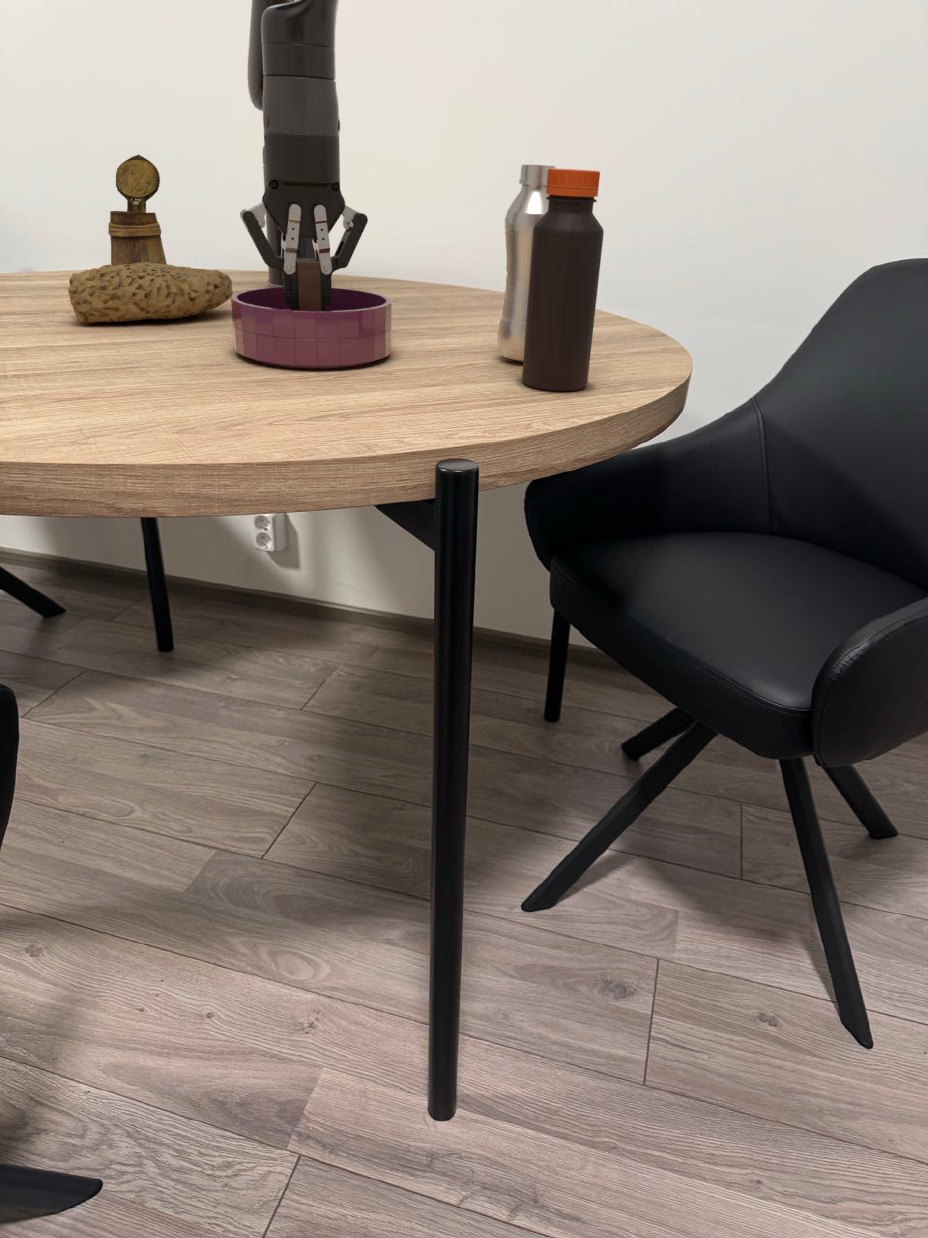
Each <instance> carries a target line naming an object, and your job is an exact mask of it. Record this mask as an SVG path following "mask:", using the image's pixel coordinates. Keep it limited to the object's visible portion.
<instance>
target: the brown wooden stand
mask: <svg viewBox="0 0 928 1238" xmlns="http://www.w3.org/2000/svg"><path fill="white" fill-rule="evenodd" d="M160 184H161V176H160V172H159V170H158V168H157V166H156V165H155V164H154V163H153V162H151V161H150V160H149V159H147V158H146V157H144V156H142V155H141V154H136V155H134V156H131V157H129V158H127V159H126V160H124V161H123V162H121V163H120V165H118V167H116V172H115V187H116V189H117V192H118V193H119V194H120V195H121V196H122V197H124V198H125V200H126V201H127V202H126V204H127V205H126V206H127V207H126V211H125V210H124V211H122V210H111V211H110V212H109V222H108V227H107V228H108V230H107V231H108V232H107V234H108V235H109V236H110V237H109V238H110V265H113V266H118V265H125V264H126V265H129V264H133V263H143V262H151V263H157V264H168V263H167V259H166V255H165V249H164V246H163V240H162V236H161V235H162V229H161V225H160V222H159V221H158V218H157V214H156V212H147V201H149V200H150V199H151V198H153V196H154V195H156V193H157V192H158V191H159V188H160Z"/></svg>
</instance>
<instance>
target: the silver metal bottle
mask: <svg viewBox="0 0 928 1238" xmlns="http://www.w3.org/2000/svg"><path fill="white" fill-rule="evenodd" d="M550 168H552V169H556V166H555V165H544V164H521V166H520V177H519V180H518V181H519V182H518V184H520V185H521V187H520V191H519V192H518V194H517V195H516V197H515V198H514V199H513V201H511V204H510V205H509V207H508V209H507V211H506V214H505V217H504V230H505V231H504V235H505V236H504V238H505V252H506V253H505V254H506V269H505V270H506V276H505V279H506V280H505V291H504V299H503V305H502V316H500V320H499V324H498V330H497V334H496V335H497V347H498V350H499V352H500V354H501V356H502V357H504V358H506V359H510V360H514V361H516V362H517V361H518V362H521V363H523V358H524V345H525V332H526V319H527V305H528V292H529V279H530V265H531V252H532V239H533V228H534V225H535V224H536V223H537V222H538V221H539V220H540V219H541V218H542V217H543V215H544V214H545V213H546V212H547V211H548V203H549V200H547V199H546V197H548V196H549V194H546V185H547V174H548V169H550Z"/></svg>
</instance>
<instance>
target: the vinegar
mask: <svg viewBox="0 0 928 1238" xmlns="http://www.w3.org/2000/svg"><path fill="white" fill-rule="evenodd" d="M600 179H601V172H600V171H599V170H591V169H590V170H589V169H576V168H575V169H573V168H555V169H552V168H550V169H548V174H547V185H546V194H549V196H548V197H546V199H547V200H549V203H548V211H547V212H546V213H545V214H544V215H543V217H542V218H541V219H540V220H539V221H538V222H537V223H536V224H535V225H534V228H533V239H532V252H531V265H530V279H529V292H528V305H527V319H526V332H525V345H524V358H523V362H522V372H521V373H522V374H521V380H522V382H523V383H524V384H525V385H526V386H528V387H530V388H534V389H538V390H542V391H551V392H573V391H579V390H582V389H584V388H585V387H586V386H587V384H588V382H589V381H588V380H589V372H590V362H591V353H592V345H593V344H592V343H593V335H594V325H595V316H596V307H597V299H598V288H599V279H600V273H601V272H600V271H601V261H602V253H603V252H602V251H603V245H604V244H603V242H604V234H605V232H604V228H603V226H602V225H601V223H600V222H599V220H598V219H597V218H596V216H595V214H594V203H597V201H598V200H597V199H596V198H597V197H598V196H599V188H600Z"/></svg>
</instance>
